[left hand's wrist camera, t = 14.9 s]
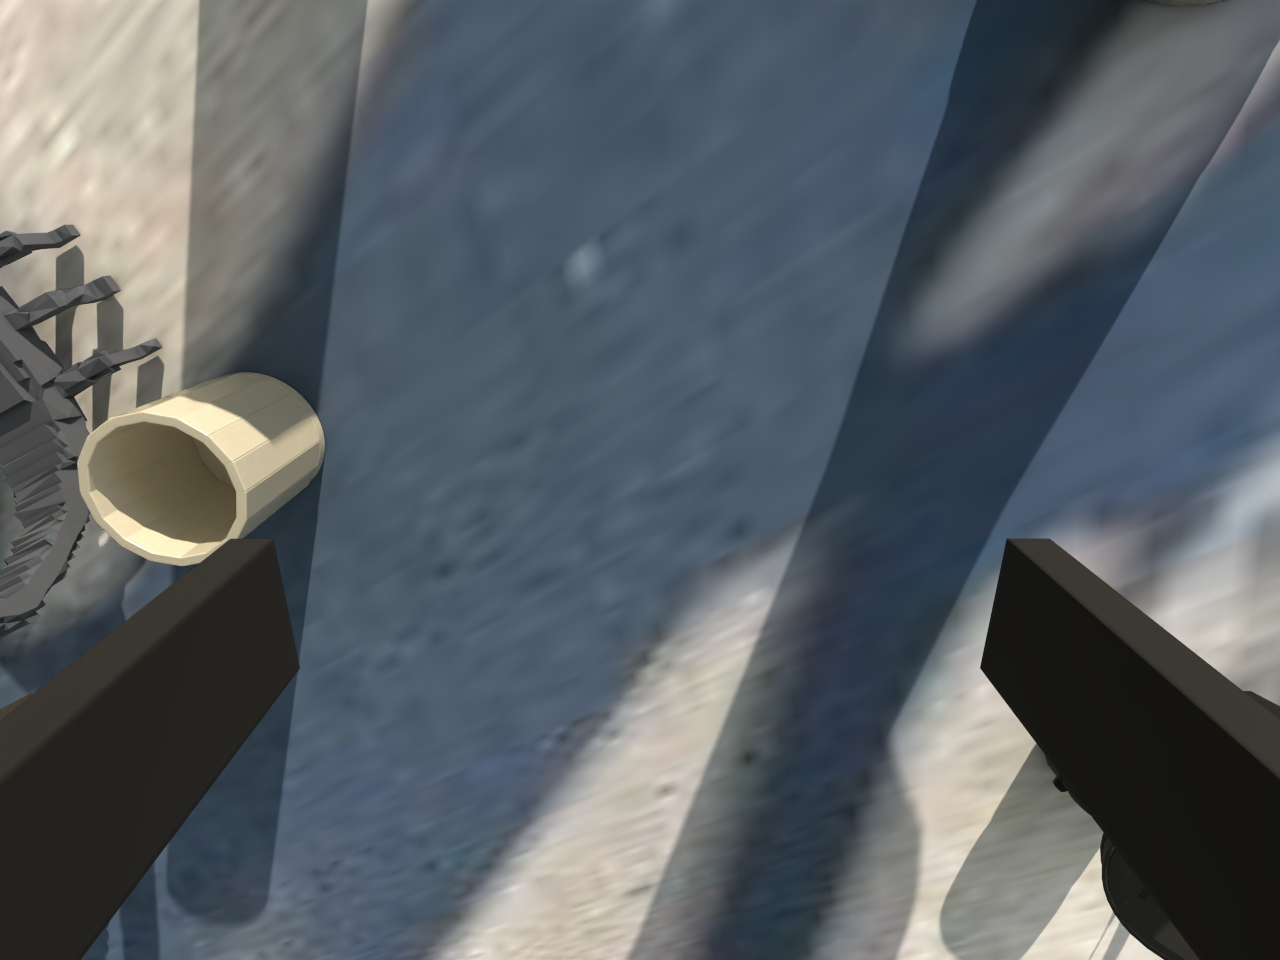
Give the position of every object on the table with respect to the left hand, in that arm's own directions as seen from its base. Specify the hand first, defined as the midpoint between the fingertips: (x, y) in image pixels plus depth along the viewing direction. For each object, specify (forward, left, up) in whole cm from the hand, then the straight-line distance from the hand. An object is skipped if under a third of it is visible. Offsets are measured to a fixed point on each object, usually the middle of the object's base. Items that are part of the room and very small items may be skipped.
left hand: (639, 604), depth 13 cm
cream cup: (+22, -8, -29) cm, 37 cm away
